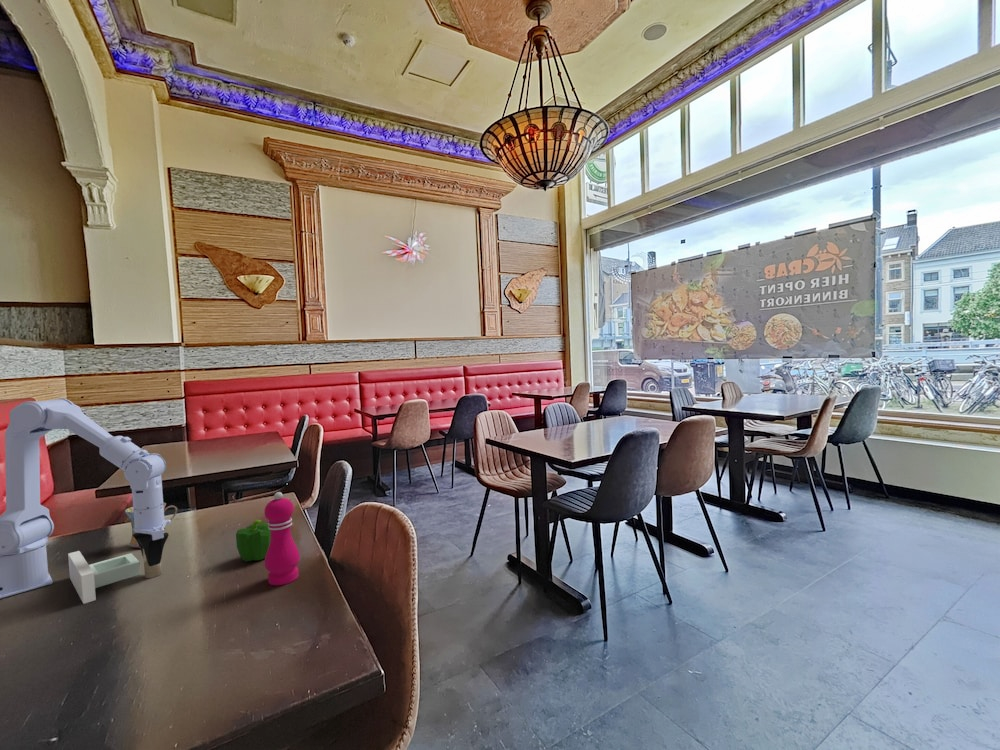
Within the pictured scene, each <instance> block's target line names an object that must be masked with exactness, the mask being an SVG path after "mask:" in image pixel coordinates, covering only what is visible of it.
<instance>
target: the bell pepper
mask: <svg viewBox="0 0 1000 750" xmlns="http://www.w3.org/2000/svg"><path fill="white" fill-rule="evenodd" d="M235 540H236V542H235V543H236V548H237V552H238V553H239V554H238V555H239V557H240V559H241V560H242V561H243V562H245V563H248V562H252V561H261V560H265V557H266V554H267V551H268V548H269V545H270V540H271V532H270V530H269V529H268V522H263V521H262V520H261V519H256V520H254V521H253V522H252V524H249V525H248V526H247V527H245V528H240V529H238V530H237V531H236V533H235Z"/></svg>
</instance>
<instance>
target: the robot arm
mask: <svg viewBox="0 0 1000 750" xmlns="http://www.w3.org/2000/svg"><path fill="white" fill-rule="evenodd" d="M54 429H55V430H68V431H70V432H72V433H73V434H75V435H77V436H79V437H80V438H82V439H84V440H86V441H87V442H89V443H91V444H93V445H94V446H95V447H98V448H99V455H100V456H101V457H103V458H104V459H105V460H107V461H108V462H110V463H111V464H113V465H114V466H115V467H118V468H119V469H121V470H122V471H123V477H124V478H125V479H126V481H128V482H129V486H130V489H131V496H132V499H131V500H132V507H133V513H134V528H133V529H134V532H137V533H135V534H133V537H134V538H135V539H136V541H137V543H138V544H139V547H140V548H139V550H140V552H141V556H142V559H143V560H144V557H143V549H144V552H145V555H146V559H147V562H148V565H149V566H153V565H157V564H160V562H161V563H162V557H163V552H164V547H165V544H166V542H167V539H168V537H169V532H166V531H165V532H164V533H163V531H164V530H165V529H164V527H165V528H166V526H167V525H169V524H171V523H172V521H171V520H170V518H168V519H165V512H164V509H165V508H164V506H163V502H164V494H163V480H162V475H163V474H164V472H165V471H166V469H167V462H166V460H165V459H164V458H163V457H162V455H161V454H159V453H157V452H156V453H150V452H148V450H146V449H142V448H141V447H139V446H138V445H136V444H135V443H134V442H132V438H130V437H129V436H123V435H116V436H114V435H112V434H110V433H109V432H108V431H107V430H105V429H104V428H103V427H101V426H100V425H99V424H97V422H95V421H94V420H92V419H91V418H90V417H89V416H87V415H86V414H85V413H84V412H83V411H82V409H81V406H79V405H77V404H74V402H73V401H71V400H69V399H67V398H56V399H49V400H48V399H47V400H45V399H44V400H35V401H34V400H33V401H31V400H29V401H28V400H27V401H24V402H21V403H20V404H17V405H16V406H14V407H13V408H12V409H10V410H9V423H8V425H7V427H6V429H5V433H4V446H5V447H4V451H5V452H4V454H5V455H4V456H5V457H4V459H5V462H4V463H5V501H6V502H5V505H6V507H5V510H4V511H3V512H2V513H1V514H0V599H4V598H7V597H10V596H14V595H18V594H22V593H24V592H27V591H32V590H35V589H39V588H43V587H46V586H50V585H52V584H53V583H54V582H53V579H52V577H51V574H50V573H49V566H48V555H47V554H48V553H47V543H48V542H49V537H50V536H51V535H52V534H53V532H54V529H55V524H54V521H53V520H52V517H51V515H50V509H49V508H47V507H46V506H44V505H43V504H41V467H40V466H41V465H40V464H41V461H40V460H41V457H40V439H41V438H43V437H44V436H45V435H47V434H48V433H49V432H51V431H52V430H54ZM166 524H167V525H166Z"/></svg>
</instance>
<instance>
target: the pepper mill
mask: <svg viewBox="0 0 1000 750" xmlns="http://www.w3.org/2000/svg"><path fill="white" fill-rule="evenodd" d="M283 496H284V495H283V493H282V492H281V491H277V492H276V493H274V495H273V499H272V500H271V501H269V502H268V503H267V504H266V506H265V507H264V518H266V519H267V521H268V522H267V524H268V529H269V530H270V532H271V540H270V545H269V548H268V551H267V554H266V557H265V558H264V568H265V570H267V571H268V572H269V573H268V574H267V581H268V584H269V585H271V586H283V585H288V584H290V583H292V582H294V581H296V580H297V579H298V578H299V576H300V575H299V568H298V566H297V565H298V564H299V562H300V560H301V559H300V558H301V557H300V552H299V549H298V547H297V545H296V543H295V541H294V539H293V536H292V532H291V529H292V525H293V522H292V521H293V518H292V517H291V516H292V515H293V514H294V511H295V506H294V504H293V502H292V501H291V500H290V499H288V498H284V497H283Z"/></svg>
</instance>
